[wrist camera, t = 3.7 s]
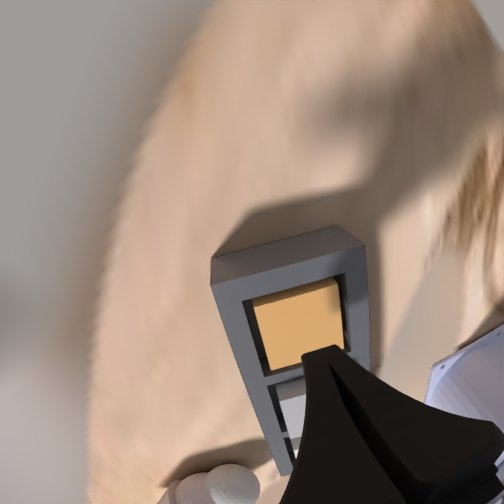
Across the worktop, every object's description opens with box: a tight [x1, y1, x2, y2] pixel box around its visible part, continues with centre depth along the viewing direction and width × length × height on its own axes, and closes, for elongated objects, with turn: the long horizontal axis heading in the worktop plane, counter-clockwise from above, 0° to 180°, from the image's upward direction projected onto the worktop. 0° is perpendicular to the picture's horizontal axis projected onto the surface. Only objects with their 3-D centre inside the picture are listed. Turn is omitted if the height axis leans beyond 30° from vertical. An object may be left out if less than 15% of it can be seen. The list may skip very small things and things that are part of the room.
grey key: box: [275, 377, 306, 439], centre depth 15 cm, size 4×4×1 cm
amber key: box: [252, 276, 344, 370], centre depth 14 cm, size 4×4×1 cm
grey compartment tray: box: [210, 225, 370, 476], centre depth 16 cm, size 6×16×3 cm, turn 13°
